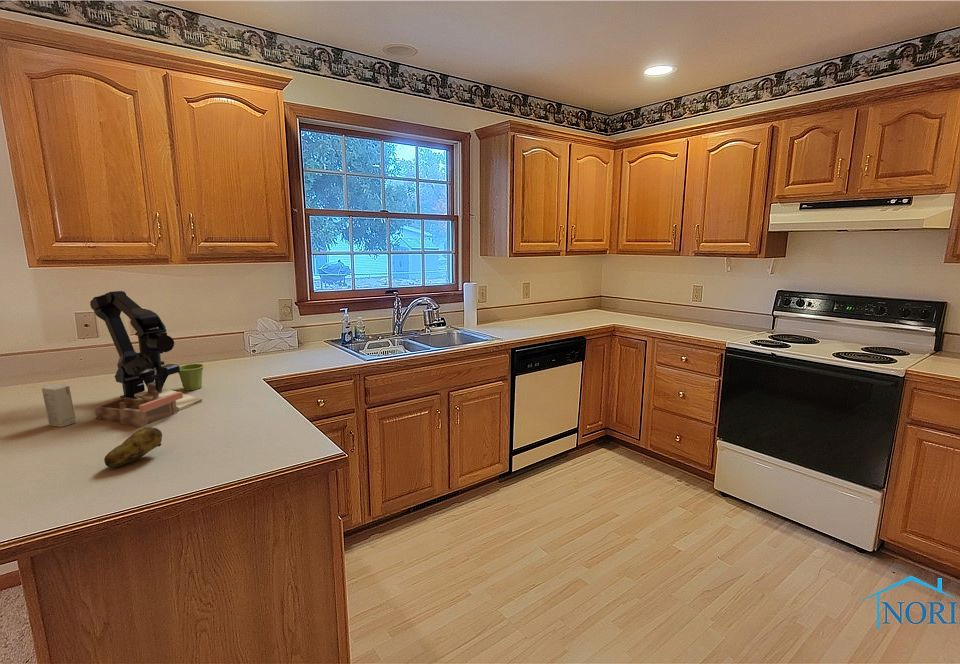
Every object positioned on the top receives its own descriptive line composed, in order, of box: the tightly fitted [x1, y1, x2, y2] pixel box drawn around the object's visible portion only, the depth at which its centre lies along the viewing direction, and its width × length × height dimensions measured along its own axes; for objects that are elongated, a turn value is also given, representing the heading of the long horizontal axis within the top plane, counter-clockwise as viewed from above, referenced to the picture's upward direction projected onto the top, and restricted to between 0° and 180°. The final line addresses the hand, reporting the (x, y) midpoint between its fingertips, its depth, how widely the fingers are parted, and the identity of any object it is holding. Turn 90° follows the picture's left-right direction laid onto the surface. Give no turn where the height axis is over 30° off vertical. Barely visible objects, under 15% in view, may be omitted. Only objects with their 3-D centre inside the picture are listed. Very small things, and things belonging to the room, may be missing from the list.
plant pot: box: [178, 363, 205, 391], centre depth 184 cm, size 9×9×9 cm
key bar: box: [139, 391, 183, 412], centre depth 151 cm, size 2×14×2 cm, turn 165°
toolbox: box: [94, 391, 178, 428], centre depth 155 cm, size 20×12×7 cm, turn 75°
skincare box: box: [41, 384, 77, 428], centre depth 148 cm, size 6×4×12 cm
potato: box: [103, 426, 163, 469], centre depth 124 cm, size 8×13×8 cm, turn 131°
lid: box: [134, 381, 203, 411], centre depth 167 cm, size 20×9×4 cm, turn 75°
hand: (155, 391), depth 168 cm, fingers closed on lid, 3 cm apart
